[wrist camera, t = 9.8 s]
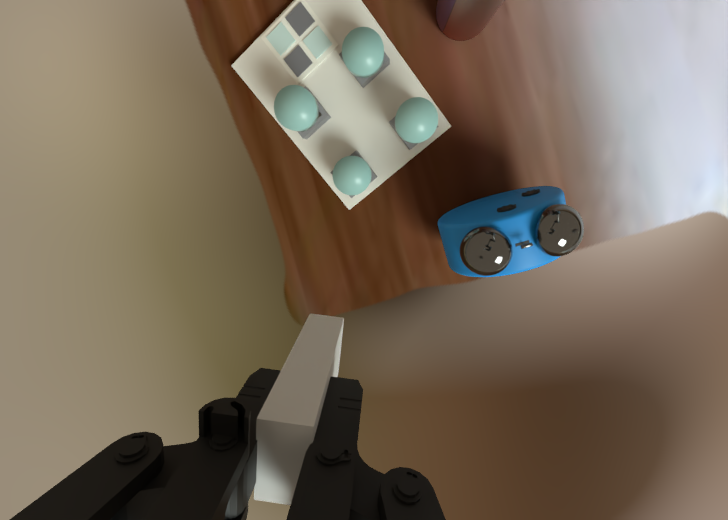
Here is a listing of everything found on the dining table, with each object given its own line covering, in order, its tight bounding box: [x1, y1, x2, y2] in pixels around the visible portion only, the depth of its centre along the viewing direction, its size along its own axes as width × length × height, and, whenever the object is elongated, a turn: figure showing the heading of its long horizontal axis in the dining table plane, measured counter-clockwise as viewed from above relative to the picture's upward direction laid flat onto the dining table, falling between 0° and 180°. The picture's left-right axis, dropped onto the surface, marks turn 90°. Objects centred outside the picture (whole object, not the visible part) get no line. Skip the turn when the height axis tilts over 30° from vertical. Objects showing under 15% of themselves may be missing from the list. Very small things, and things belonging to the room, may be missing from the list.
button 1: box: [342, 27, 384, 78], centre depth 39 cm, size 4×4×4 cm
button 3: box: [395, 97, 438, 143], centre depth 38 cm, size 4×4×4 cm
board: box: [231, 0, 451, 210], centre depth 42 cm, size 16×22×3 cm
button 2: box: [274, 85, 319, 132], centre depth 39 cm, size 4×4×4 cm
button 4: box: [333, 156, 372, 195], centre depth 43 cm, size 4×4×4 cm
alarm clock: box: [438, 186, 584, 277], centre depth 39 cm, size 13×6×15 cm, turn 108°
